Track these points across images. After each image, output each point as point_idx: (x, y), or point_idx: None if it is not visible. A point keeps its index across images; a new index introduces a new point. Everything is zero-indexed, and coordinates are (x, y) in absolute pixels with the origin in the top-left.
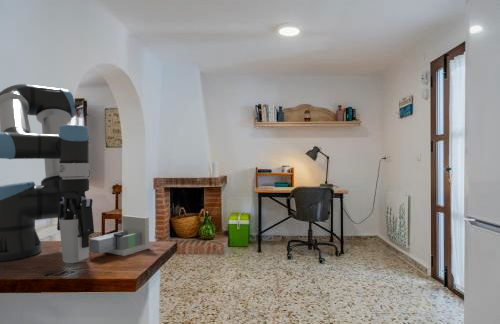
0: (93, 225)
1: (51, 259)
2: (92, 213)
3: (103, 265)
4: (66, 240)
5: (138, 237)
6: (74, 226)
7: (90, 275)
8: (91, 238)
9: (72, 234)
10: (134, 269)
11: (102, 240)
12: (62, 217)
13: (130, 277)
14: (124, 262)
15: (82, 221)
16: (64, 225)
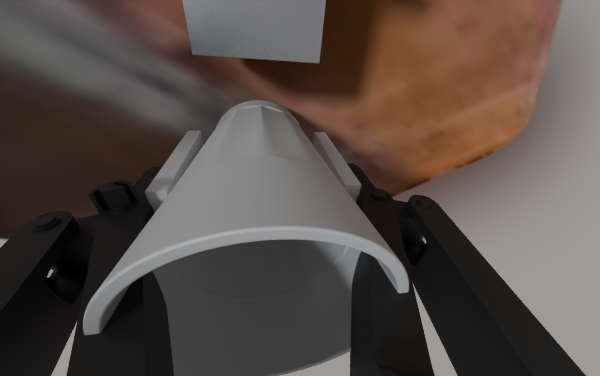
0: (460, 232)
1: (100, 150)
2: (552, 337)
3: (374, 101)
4: (288, 242)
5: None
6: (344, 290)
7: (398, 174)
8: (200, 39)
9: (319, 252)
10: (506, 81)
11: (321, 30)
12: (36, 363)
13: (512, 136)
14: (436, 30)
15: (427, 308)
16: (297, 325)
